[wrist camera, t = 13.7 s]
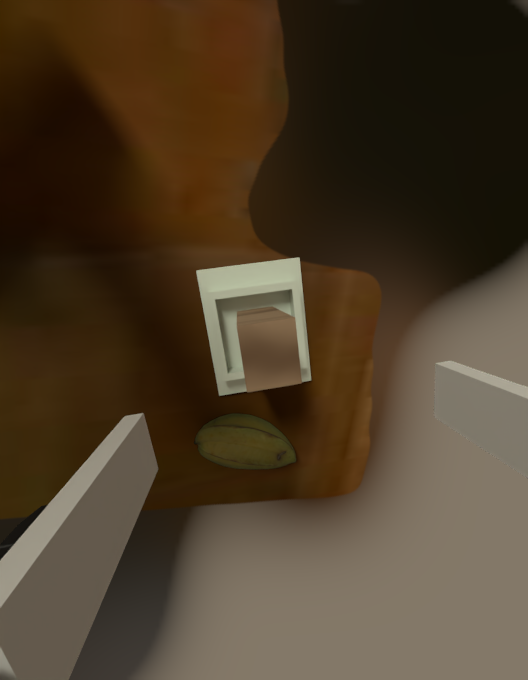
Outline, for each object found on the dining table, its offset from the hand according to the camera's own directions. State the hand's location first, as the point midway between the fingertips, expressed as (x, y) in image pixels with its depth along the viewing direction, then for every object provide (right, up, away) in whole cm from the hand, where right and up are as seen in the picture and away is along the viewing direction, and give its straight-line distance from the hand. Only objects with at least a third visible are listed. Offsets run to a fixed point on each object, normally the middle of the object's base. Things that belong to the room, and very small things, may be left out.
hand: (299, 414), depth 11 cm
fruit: (-5, -11, +28) cm, 31 cm away
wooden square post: (-2, +5, +24) cm, 25 cm away
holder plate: (-3, +5, +25) cm, 25 cm away
